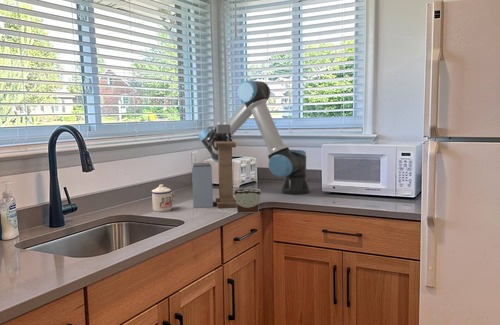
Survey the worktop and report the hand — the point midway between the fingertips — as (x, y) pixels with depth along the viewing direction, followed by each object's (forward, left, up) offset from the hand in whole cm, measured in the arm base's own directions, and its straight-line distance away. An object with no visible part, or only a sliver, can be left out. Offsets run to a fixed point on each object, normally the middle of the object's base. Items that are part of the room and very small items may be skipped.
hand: (221, 124), depth 218 cm
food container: (-14, +26, -38) cm, 48 cm away
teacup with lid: (+25, +20, -38) cm, 50 cm away
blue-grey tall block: (+9, +12, -38) cm, 41 cm away
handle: (0, +2, -4) cm, 4 cm away
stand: (-2, +12, -38) cm, 40 cm away
